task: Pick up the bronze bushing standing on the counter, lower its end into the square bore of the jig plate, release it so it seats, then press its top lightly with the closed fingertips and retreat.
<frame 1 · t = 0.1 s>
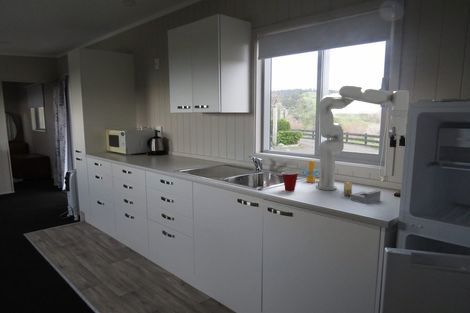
hand: (397, 146, 173), 31 cm above the worktop, fingers open, 9 cm apart
jig: (365, 199, 184), on the worktop
plastic cup: (289, 190, 207), on the worktop
bushing: (347, 195, 193), on the worktop
toy airplane: (310, 181, 234), on the worktop
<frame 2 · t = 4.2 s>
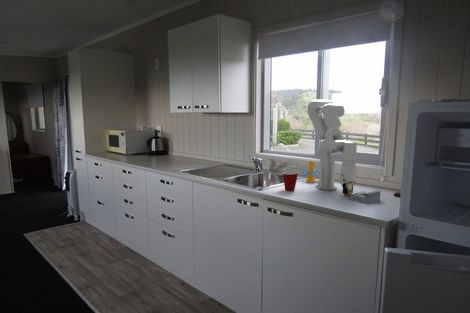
hand: (347, 192, 193), 2 cm above the worktop, fingers closed on bushing, 4 cm apart
bushing: (347, 195, 193), on the worktop, touching gripper
everything else where it was.
when the fingers open (4 cm above the worktop, at t = 8.3 s): bushing drops 2 cm, resting in jig.
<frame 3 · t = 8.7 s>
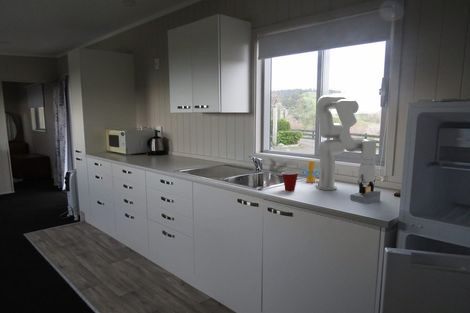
hand: (366, 192, 183), 5 cm above the worktop, fingers open, 8 cm apart
bushing: (365, 200, 184), resting in jig
everything else where it was.
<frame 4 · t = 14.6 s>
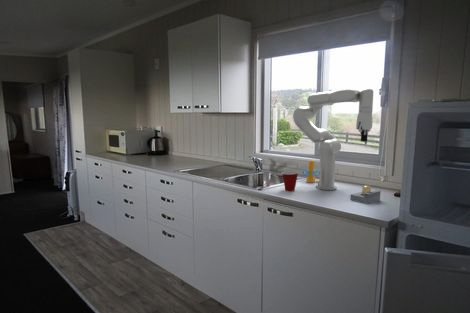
hand: (363, 141, 194), 32 cm above the worktop, fingers closed
nothing on the worktop moved.
at the end: bushing 0.0 cm off-centre on the jig, point 0.0 cm above the jig's base; bushing tilted 1°; the gripper is holding nothing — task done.
